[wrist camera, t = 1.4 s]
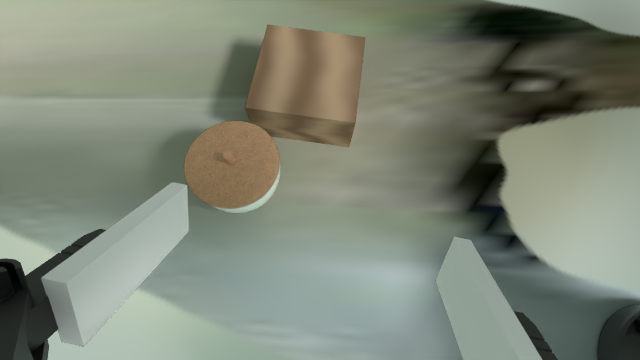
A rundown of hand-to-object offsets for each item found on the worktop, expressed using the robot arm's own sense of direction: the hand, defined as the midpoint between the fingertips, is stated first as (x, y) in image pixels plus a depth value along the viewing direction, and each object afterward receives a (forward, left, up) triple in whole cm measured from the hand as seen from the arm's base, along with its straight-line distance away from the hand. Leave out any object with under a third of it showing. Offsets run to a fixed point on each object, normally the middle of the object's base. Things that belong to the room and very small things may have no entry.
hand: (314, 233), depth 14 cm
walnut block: (+5, -24, -24) cm, 35 cm away
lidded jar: (+11, -9, -24) cm, 28 cm away
